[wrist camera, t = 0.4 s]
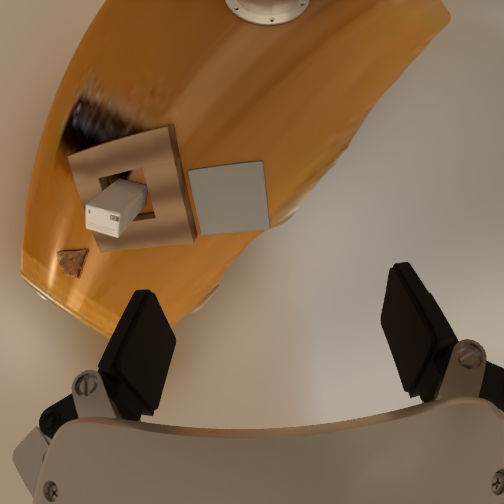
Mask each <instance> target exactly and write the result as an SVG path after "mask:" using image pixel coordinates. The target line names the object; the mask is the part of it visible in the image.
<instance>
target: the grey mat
mask: <svg viewBox="0 0 504 504" xmlns="http://www.w3.org/2000/svg"><path fill="white" fill-rule="evenodd" d="M188 174H189V179H190V184H191V189H192V193H193V198H194V202H195V207H196V211H197V216H198V220H199V225H200V229H201V233H202V235H212V234H222V233H233V232H244V231H255V230H267V229H270V225H269V215H268V206H267V196H266V187H265V178H264V169H263V161H253V162H244V163H235V164H227V165H220V166H212V167H205V168H199V169H192V170H188Z"/></svg>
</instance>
